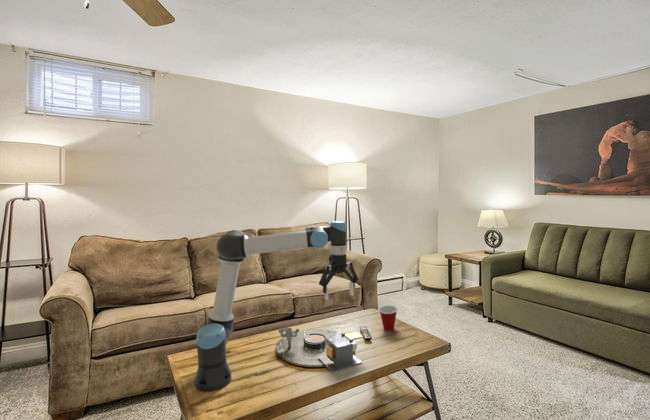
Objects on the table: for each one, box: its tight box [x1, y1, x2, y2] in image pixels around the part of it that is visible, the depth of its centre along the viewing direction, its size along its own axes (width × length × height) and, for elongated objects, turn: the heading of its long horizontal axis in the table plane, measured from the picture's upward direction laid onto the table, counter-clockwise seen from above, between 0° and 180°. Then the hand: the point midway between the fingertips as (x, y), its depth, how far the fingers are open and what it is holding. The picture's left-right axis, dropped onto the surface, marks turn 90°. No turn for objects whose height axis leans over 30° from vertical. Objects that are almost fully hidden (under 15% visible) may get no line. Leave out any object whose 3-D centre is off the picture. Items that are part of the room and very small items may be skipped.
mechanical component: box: [278, 327, 300, 348], centre depth 177 cm, size 3×10×10 cm, turn 89°
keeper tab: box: [344, 331, 364, 341], centre depth 165 cm, size 7×6×1 cm
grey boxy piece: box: [321, 332, 363, 373], centre depth 162 cm, size 16×14×11 cm
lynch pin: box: [327, 341, 358, 359], centre depth 163 cm, size 14×5×5 cm, turn 116°
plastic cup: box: [378, 305, 398, 332], centre depth 197 cm, size 11×11×12 cm
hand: (339, 297), depth 164 cm, fingers open, 13 cm apart
